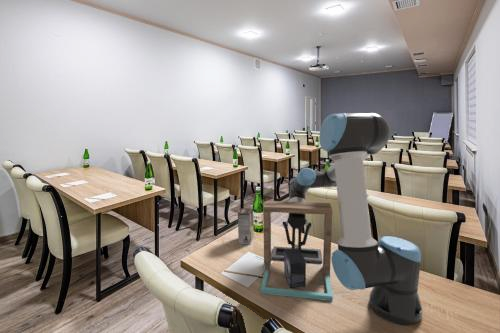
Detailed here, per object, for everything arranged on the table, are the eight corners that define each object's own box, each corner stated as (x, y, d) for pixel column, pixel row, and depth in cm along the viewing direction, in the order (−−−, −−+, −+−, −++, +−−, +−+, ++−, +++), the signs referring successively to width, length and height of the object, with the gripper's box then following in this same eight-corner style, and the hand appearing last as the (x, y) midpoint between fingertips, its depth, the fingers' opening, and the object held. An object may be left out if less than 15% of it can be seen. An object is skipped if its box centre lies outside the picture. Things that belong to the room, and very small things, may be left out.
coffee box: (242, 236, 144) (241, 207, 141) (254, 237, 143) (253, 208, 140) (238, 243, 135) (237, 213, 132) (250, 244, 134) (250, 214, 131)
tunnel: (329, 278, 105) (332, 209, 100) (264, 272, 109) (263, 206, 105) (327, 267, 112) (330, 203, 108) (266, 262, 117) (265, 200, 112)
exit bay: (332, 300, 92) (332, 296, 91) (260, 293, 96) (260, 289, 96) (328, 278, 104) (328, 275, 104) (265, 273, 109) (265, 269, 108)
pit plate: (322, 263, 116) (322, 260, 115) (271, 259, 120) (271, 256, 119) (320, 251, 125) (320, 249, 125) (273, 248, 129) (273, 246, 129)
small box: (283, 272, 109) (283, 248, 107) (298, 271, 110) (299, 247, 108) (289, 288, 99) (289, 262, 97) (306, 287, 99) (307, 261, 97)
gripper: (311, 213, 125) (312, 265, 112) (283, 212, 127) (280, 262, 114) (312, 205, 119) (312, 259, 105) (282, 204, 121) (279, 257, 108)
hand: (296, 261), depth 110 cm, fingers closed
